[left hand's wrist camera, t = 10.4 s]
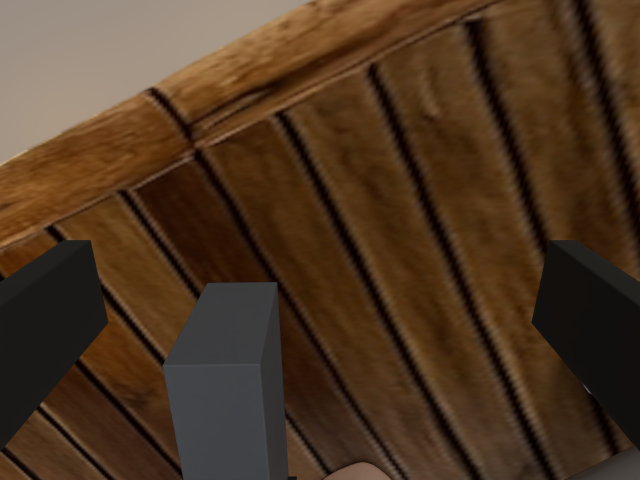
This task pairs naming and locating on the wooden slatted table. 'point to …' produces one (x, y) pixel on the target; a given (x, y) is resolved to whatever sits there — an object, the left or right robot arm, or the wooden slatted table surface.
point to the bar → (229, 386)
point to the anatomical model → (358, 473)
